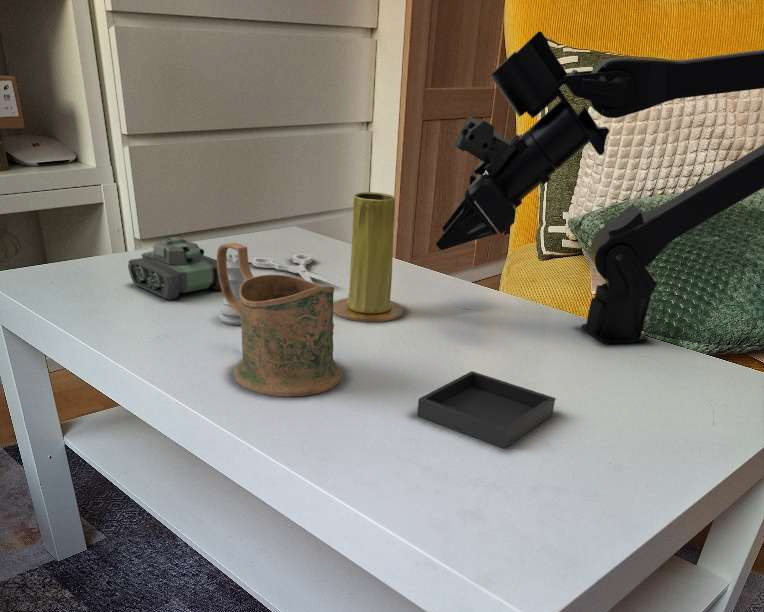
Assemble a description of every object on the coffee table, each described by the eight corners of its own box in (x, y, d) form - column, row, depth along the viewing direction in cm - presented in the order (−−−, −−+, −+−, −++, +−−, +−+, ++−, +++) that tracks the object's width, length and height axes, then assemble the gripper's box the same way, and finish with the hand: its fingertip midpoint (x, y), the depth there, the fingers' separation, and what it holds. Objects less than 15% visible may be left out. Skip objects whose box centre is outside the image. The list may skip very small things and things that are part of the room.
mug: (265, 333, 91) (262, 232, 84) (362, 378, 81) (367, 267, 74) (183, 354, 84) (172, 245, 77) (279, 406, 74) (276, 285, 67)
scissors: (302, 251, 123) (361, 282, 108) (302, 256, 123) (361, 287, 109) (242, 256, 118) (296, 289, 104) (242, 261, 118) (296, 295, 104)
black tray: (469, 387, 80) (471, 370, 79) (552, 415, 75) (555, 398, 74) (416, 415, 74) (418, 398, 72) (504, 448, 69) (507, 430, 68)
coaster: (391, 298, 106) (391, 296, 106) (412, 320, 98) (412, 317, 98) (325, 301, 103) (326, 298, 103) (342, 323, 96) (342, 320, 95)
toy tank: (188, 272, 111) (184, 224, 108) (236, 291, 105) (233, 241, 101) (126, 283, 105) (120, 233, 101) (173, 305, 98) (168, 251, 94)
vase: (344, 313, 98) (348, 198, 90) (349, 299, 103) (352, 190, 96) (390, 316, 98) (397, 202, 90) (392, 302, 103) (399, 193, 95)
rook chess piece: (212, 322, 93) (207, 257, 89) (231, 312, 97) (227, 250, 93) (243, 328, 92) (239, 263, 88) (261, 318, 96) (259, 255, 91)
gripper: (501, 88, 92) (409, 176, 100) (499, 96, 77) (389, 200, 84) (554, 161, 96) (460, 241, 103) (562, 183, 80) (451, 276, 87)
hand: (441, 238), depth 94 cm, fingers open, 9 cm apart
